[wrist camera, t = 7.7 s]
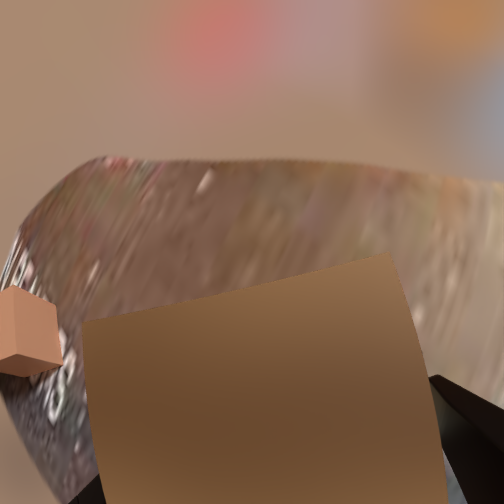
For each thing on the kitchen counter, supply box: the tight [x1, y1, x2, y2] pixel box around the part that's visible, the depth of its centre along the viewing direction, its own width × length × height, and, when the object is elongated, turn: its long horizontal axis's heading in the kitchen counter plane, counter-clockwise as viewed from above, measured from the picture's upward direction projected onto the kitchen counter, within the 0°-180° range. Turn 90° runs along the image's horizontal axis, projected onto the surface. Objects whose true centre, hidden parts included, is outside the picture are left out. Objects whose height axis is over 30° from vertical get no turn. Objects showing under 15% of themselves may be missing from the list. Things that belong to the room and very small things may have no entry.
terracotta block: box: [0, 285, 63, 377], centre depth 19 cm, size 5×5×5 cm
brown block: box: [82, 252, 448, 504], centre depth 10 cm, size 5×5×14 cm
